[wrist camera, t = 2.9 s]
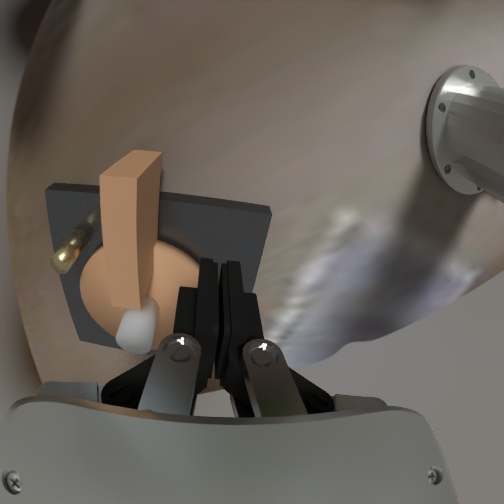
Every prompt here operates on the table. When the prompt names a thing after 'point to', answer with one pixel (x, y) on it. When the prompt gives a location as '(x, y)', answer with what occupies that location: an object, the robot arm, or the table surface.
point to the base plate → (169, 230)
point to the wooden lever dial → (134, 259)
